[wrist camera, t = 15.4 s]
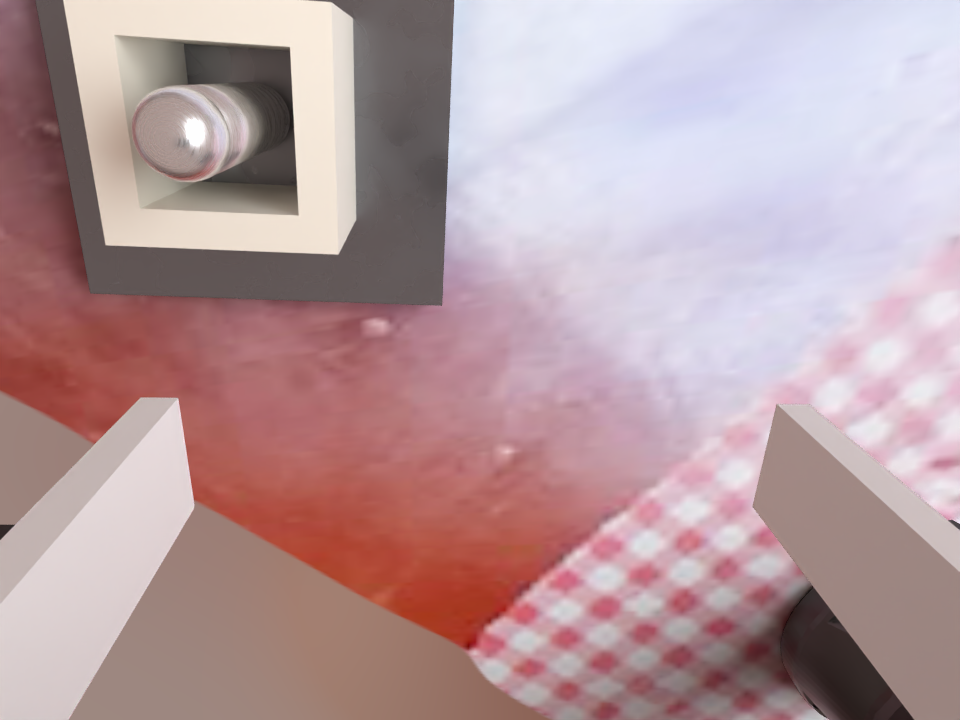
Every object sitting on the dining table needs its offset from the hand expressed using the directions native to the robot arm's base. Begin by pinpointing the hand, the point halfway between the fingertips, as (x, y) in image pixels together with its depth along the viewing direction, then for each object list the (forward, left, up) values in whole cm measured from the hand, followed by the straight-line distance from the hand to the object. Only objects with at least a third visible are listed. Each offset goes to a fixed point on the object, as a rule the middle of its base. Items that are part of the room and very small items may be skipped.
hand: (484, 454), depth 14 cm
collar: (+5, +9, -21) cm, 23 cm away
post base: (+5, +9, -22) cm, 25 cm away
